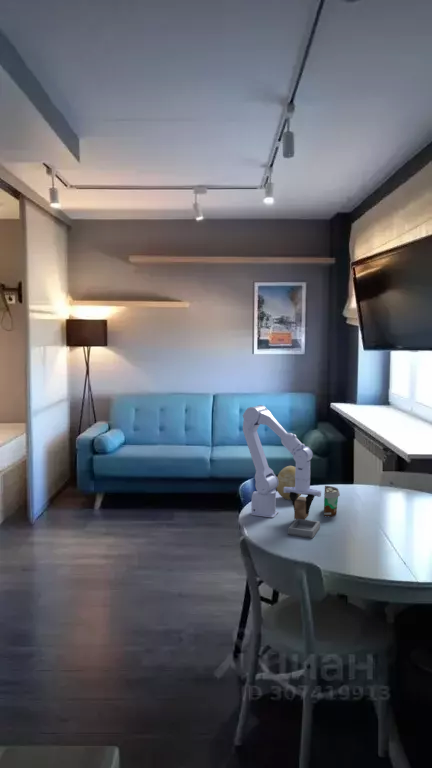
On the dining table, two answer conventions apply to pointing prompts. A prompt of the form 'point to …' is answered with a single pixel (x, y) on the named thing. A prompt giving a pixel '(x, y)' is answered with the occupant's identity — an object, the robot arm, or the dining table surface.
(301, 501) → the brown block
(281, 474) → the fossilized egg
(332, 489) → the food container
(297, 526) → the grey shallow tray
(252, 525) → the dining table surface
